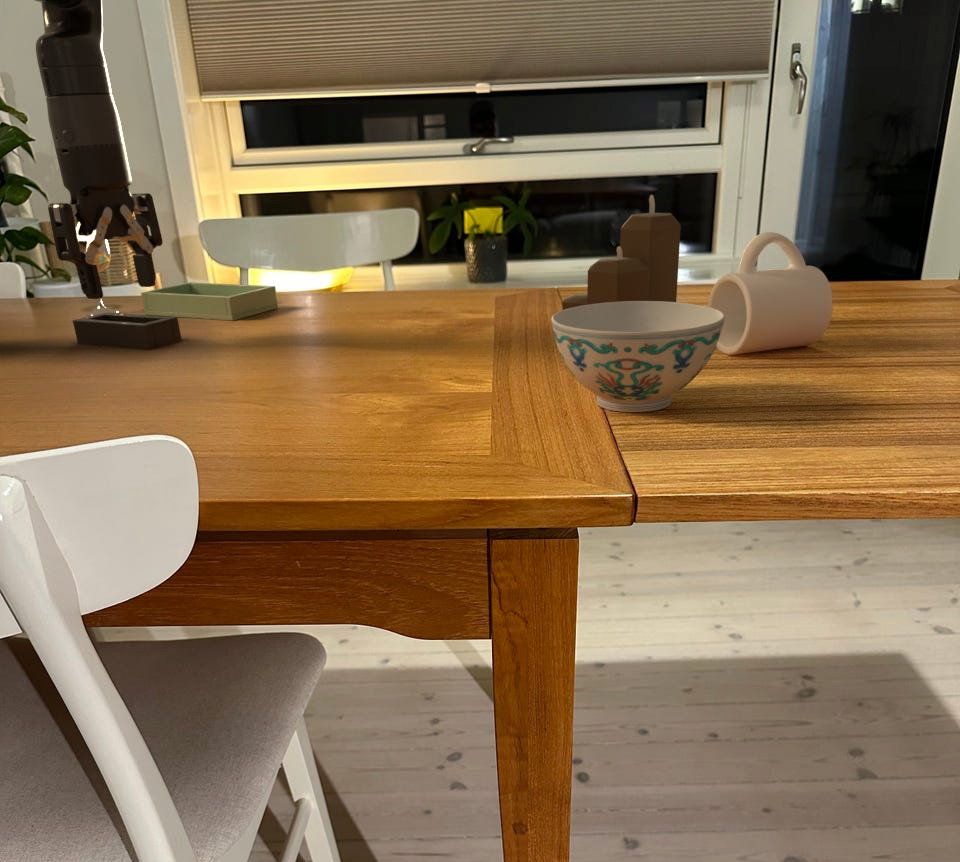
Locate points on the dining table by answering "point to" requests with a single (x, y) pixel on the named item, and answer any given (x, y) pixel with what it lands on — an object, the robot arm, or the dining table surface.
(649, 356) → the chinaware
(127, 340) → the dark brown rectangular box
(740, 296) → the mug
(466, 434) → the dining table surface
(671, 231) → the candle
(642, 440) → the dining table surface
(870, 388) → the dining table surface
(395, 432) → the dining table surface
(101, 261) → the wineglass
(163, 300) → the tray
